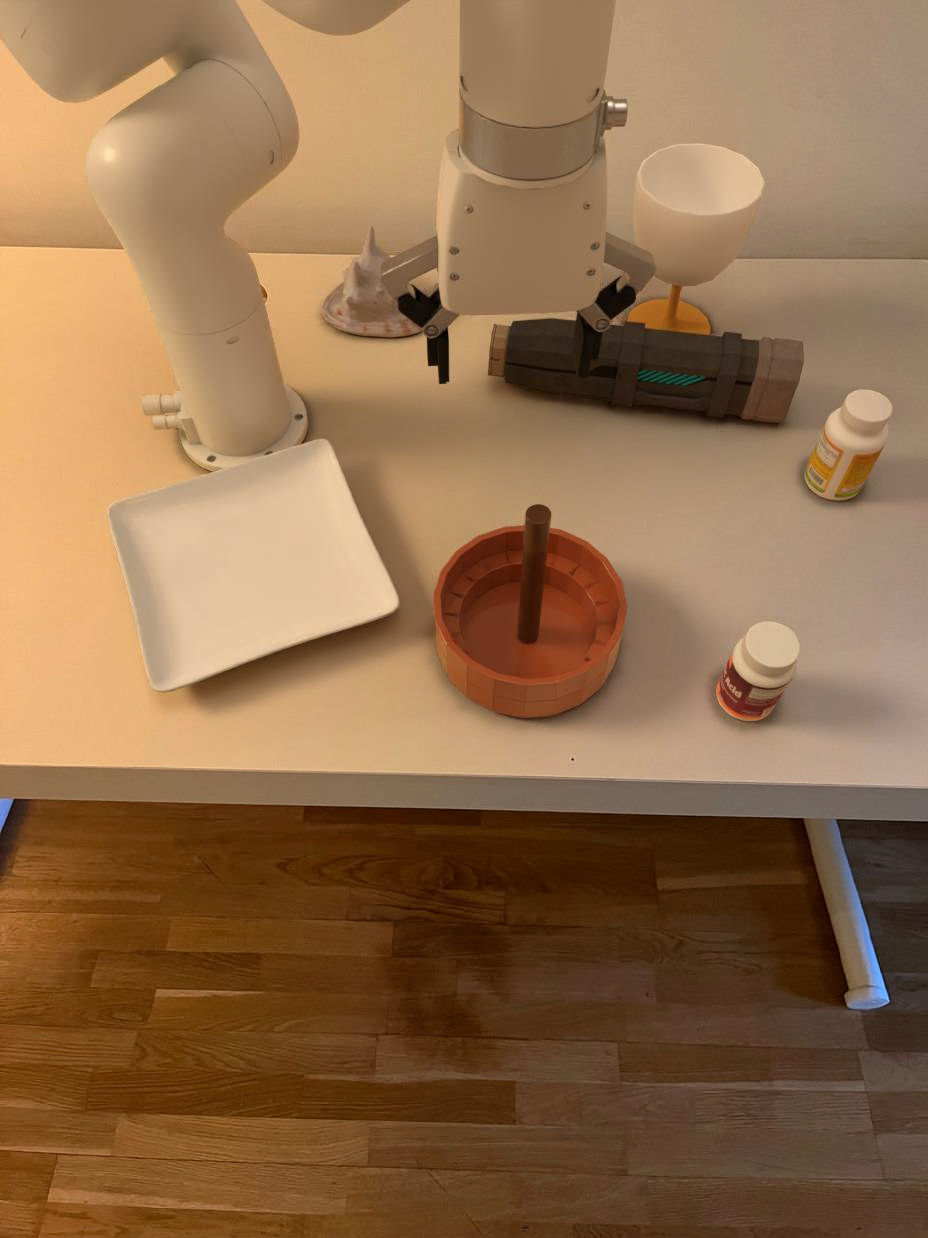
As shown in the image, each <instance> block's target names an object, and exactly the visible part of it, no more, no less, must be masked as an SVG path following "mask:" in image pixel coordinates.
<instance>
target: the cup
mask: <svg viewBox="0 0 928 1238" xmlns="http://www.w3.org/2000/svg"><path fill="white" fill-rule="evenodd" d="M765 186H766V182H765V180H764V178H763V175H762V173H761V171H760V168H759V167H758V166H757V165H756V164H755V163H754V162H752V161H751V160H750V159H749V158H748V157H746V155H743V154H741V153H739V152H736V151H734V150H732V149H729V148H727V147H725V146H720V145H719V146H718V145H713V144H707V143H701V142H700V143H677V144H674V145H670V146H667V147H664V148H660V149H657V150H656V151H655V152H653V153H652V154H650V155H649V156H647V157H646V158H645V159H643V161H642V162H641V163H640V166H639V168H638V171H637V173H636V178H635V187H634V196H633V212H632V213H633V214H632V215H633V217H632V219H633V220H632V229H633V236H634V245H635V246H637V247H640V248H642V249H644V250H646V251H648V252H650V253H652V254H653V257H654V260H655V264H656V267H657V271H656V273H655V275H654V276H653V277H654V278H656V279H658V280H660V281H662V282H664V283H665V284H668V285H671V289H670V294H669V298H659V299H658V298H657V299H652V300H648V301H646V302H645V301H644V302H642V303H640V304H638V305H637V306H636V307H635V308H634V309H632V310H631V311H629V314H628V315H627V316H628V317H627V319H626V321H630V322H639V323H645V328H649V329H658V330H668V331H677V332H686V333H695V334H705V335H711V330H712V328H711V325H710V322H709V318H707V316H706V315H705V314H704V313H703V312H702V311H701V310H700V309H699V308H697V307H695V306H694V305H691V304H689V303H688V302H686V301H682V300H680V297H681V294H682V293H681V292H682V289H683V287H696V286H699V285H703V284H705V283H709V282H711V281H713V280H714V279H716V277H718V276H719V275H721V273H722V272H724V271H725V270H726V269H727V268H729V266H731V265H732V264H733V263H734V262H735V260H736V259H737V257H738V255H739V254H740V252H741V250H742V249H743V247H744V244H745V242H746V240H747V237H748V235H749V233H750V230H751V227H753V223H754V220H755V217H756V214H757V211H758V209H759V205H760V202H761V199H762V196H763V194H764V193H763V192H764V189H765Z"/></svg>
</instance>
